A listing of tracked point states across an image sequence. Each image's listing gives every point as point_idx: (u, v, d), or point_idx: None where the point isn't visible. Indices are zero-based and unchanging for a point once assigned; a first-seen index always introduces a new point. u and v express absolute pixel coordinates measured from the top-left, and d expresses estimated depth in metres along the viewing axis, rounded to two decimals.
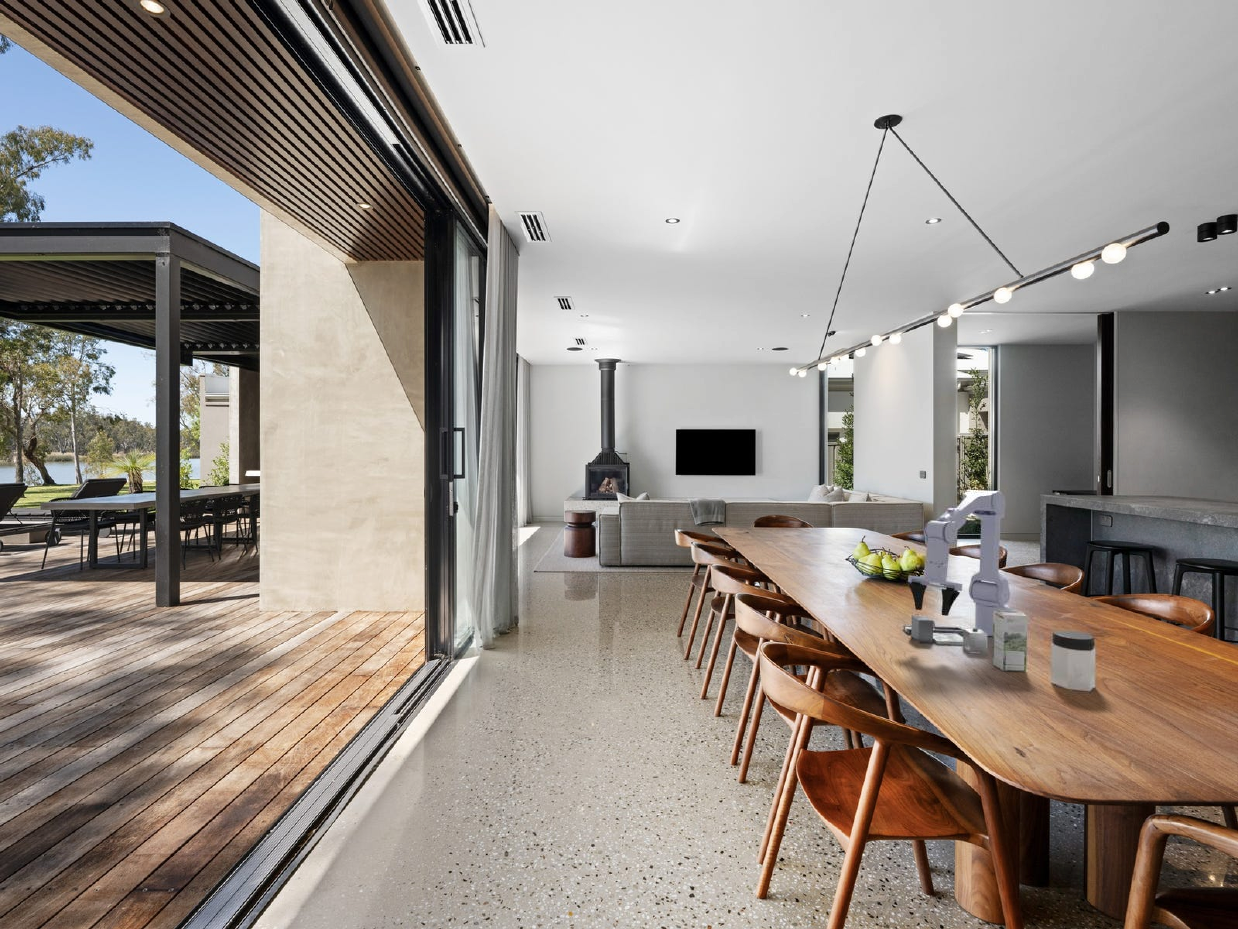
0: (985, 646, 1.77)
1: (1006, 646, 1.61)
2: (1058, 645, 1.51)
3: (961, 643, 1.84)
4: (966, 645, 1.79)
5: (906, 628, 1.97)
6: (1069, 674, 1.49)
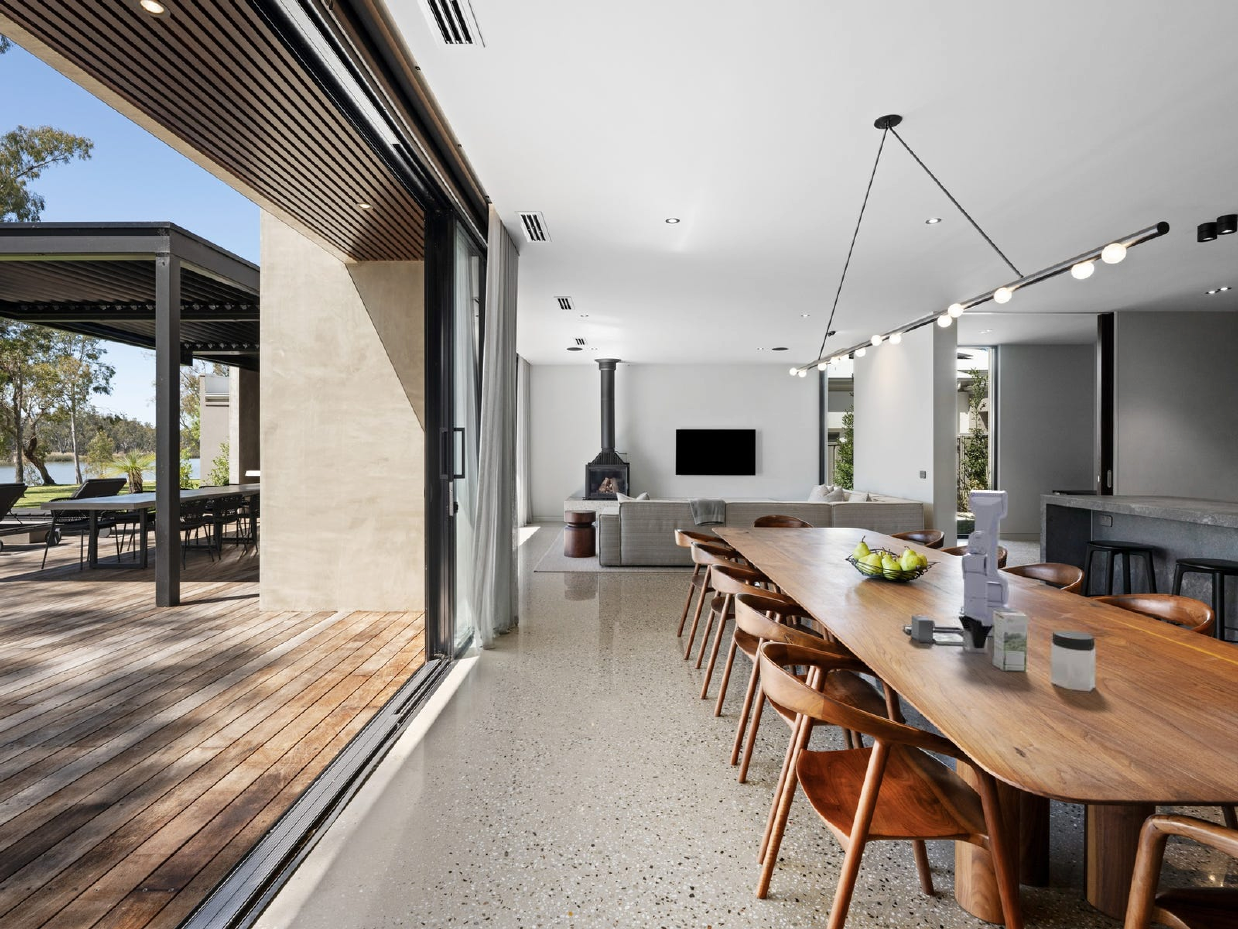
0: (985, 646, 1.77)
1: (1006, 646, 1.61)
2: (1058, 645, 1.51)
3: (961, 643, 1.84)
4: (966, 645, 1.79)
5: (906, 628, 1.97)
6: (1069, 674, 1.49)
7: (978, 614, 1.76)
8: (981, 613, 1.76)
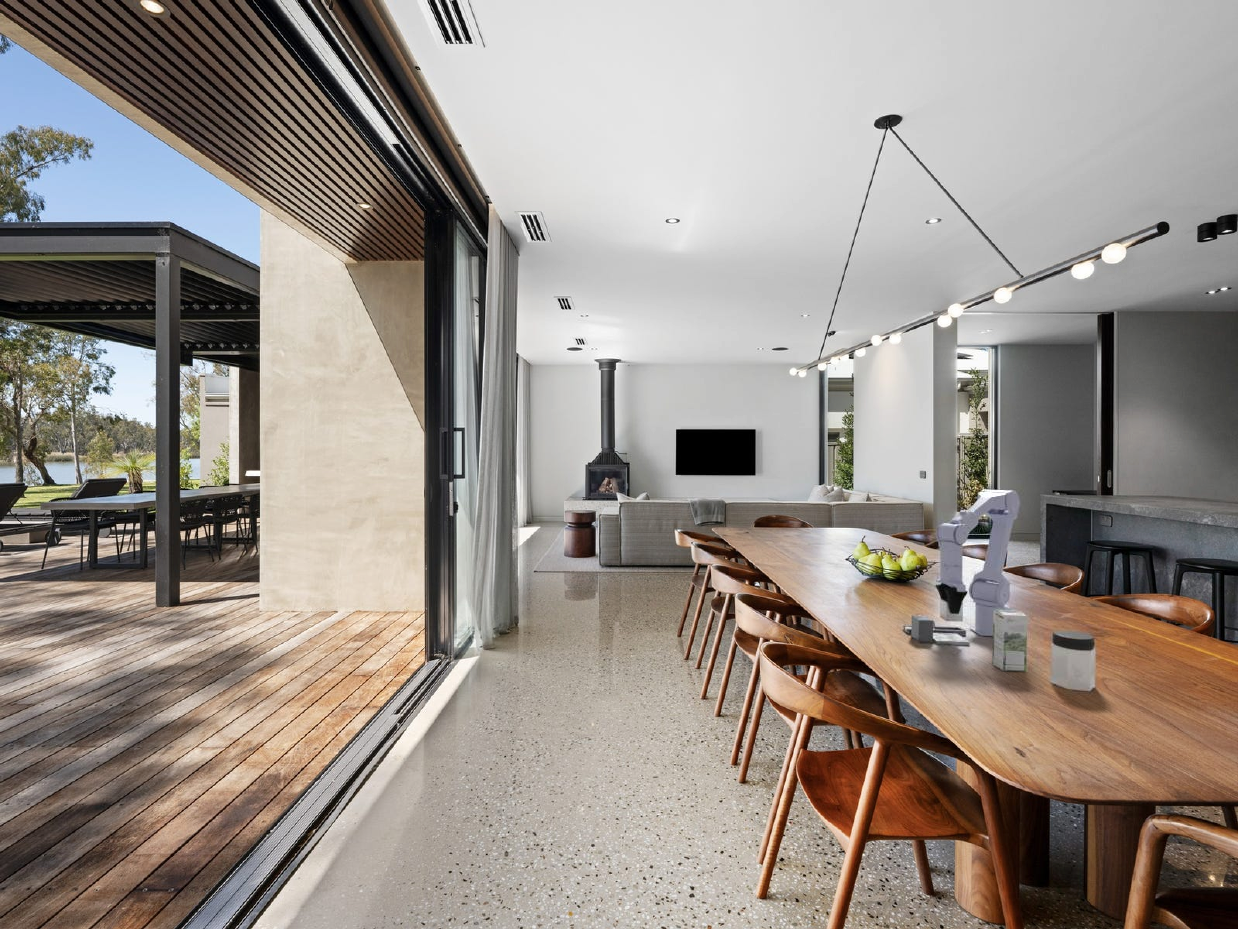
0: (961, 615, 1.85)
1: (1006, 646, 1.61)
2: (1058, 645, 1.51)
3: (961, 643, 1.84)
4: (943, 614, 1.87)
5: (906, 628, 1.97)
6: (1069, 674, 1.49)
7: (953, 581, 1.84)
8: (956, 580, 1.84)
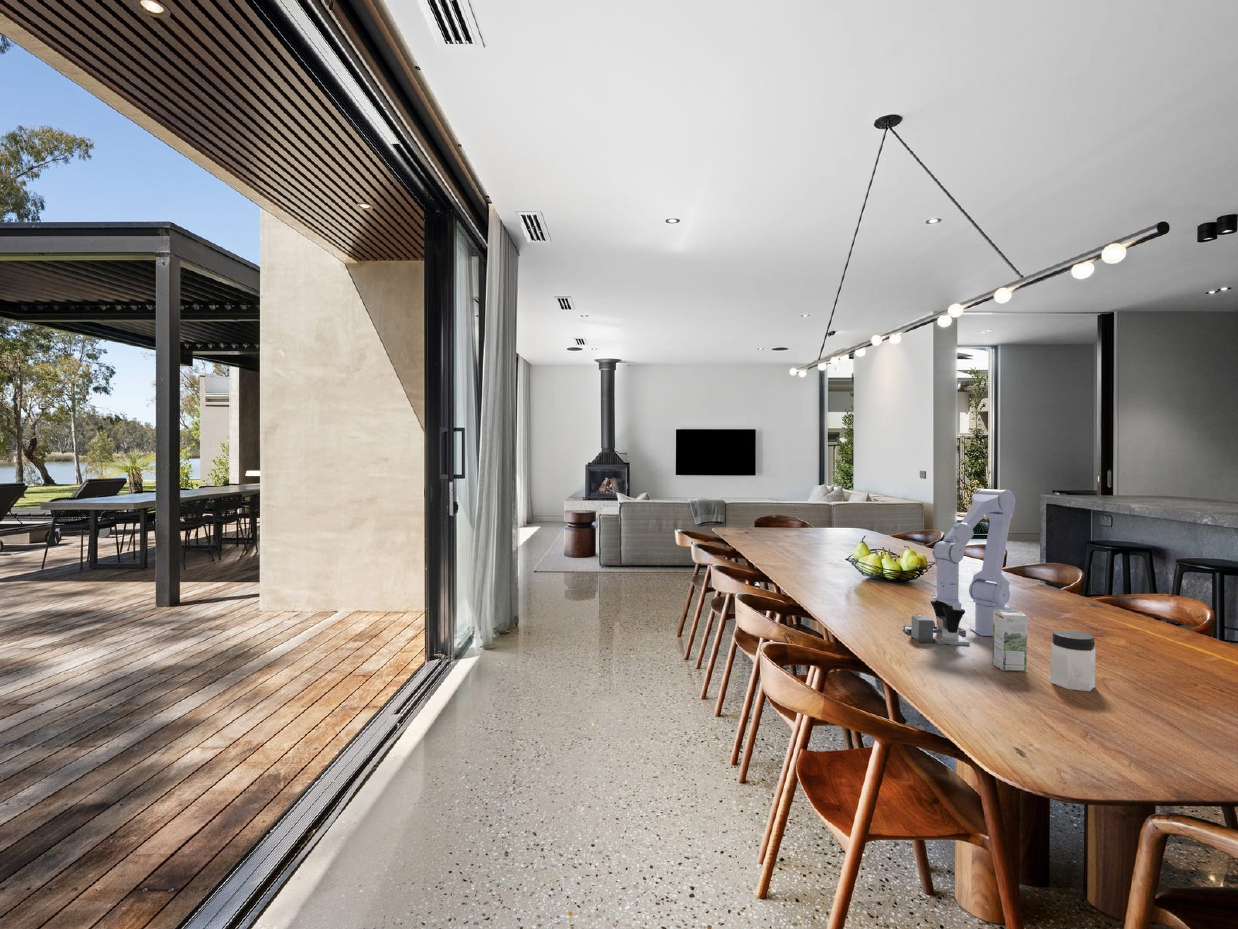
0: (957, 633, 1.86)
1: (1006, 646, 1.61)
2: (1058, 645, 1.51)
3: (961, 643, 1.84)
4: (939, 632, 1.89)
5: (906, 628, 1.97)
6: (1069, 674, 1.49)
7: (949, 599, 1.86)
8: (952, 598, 1.86)
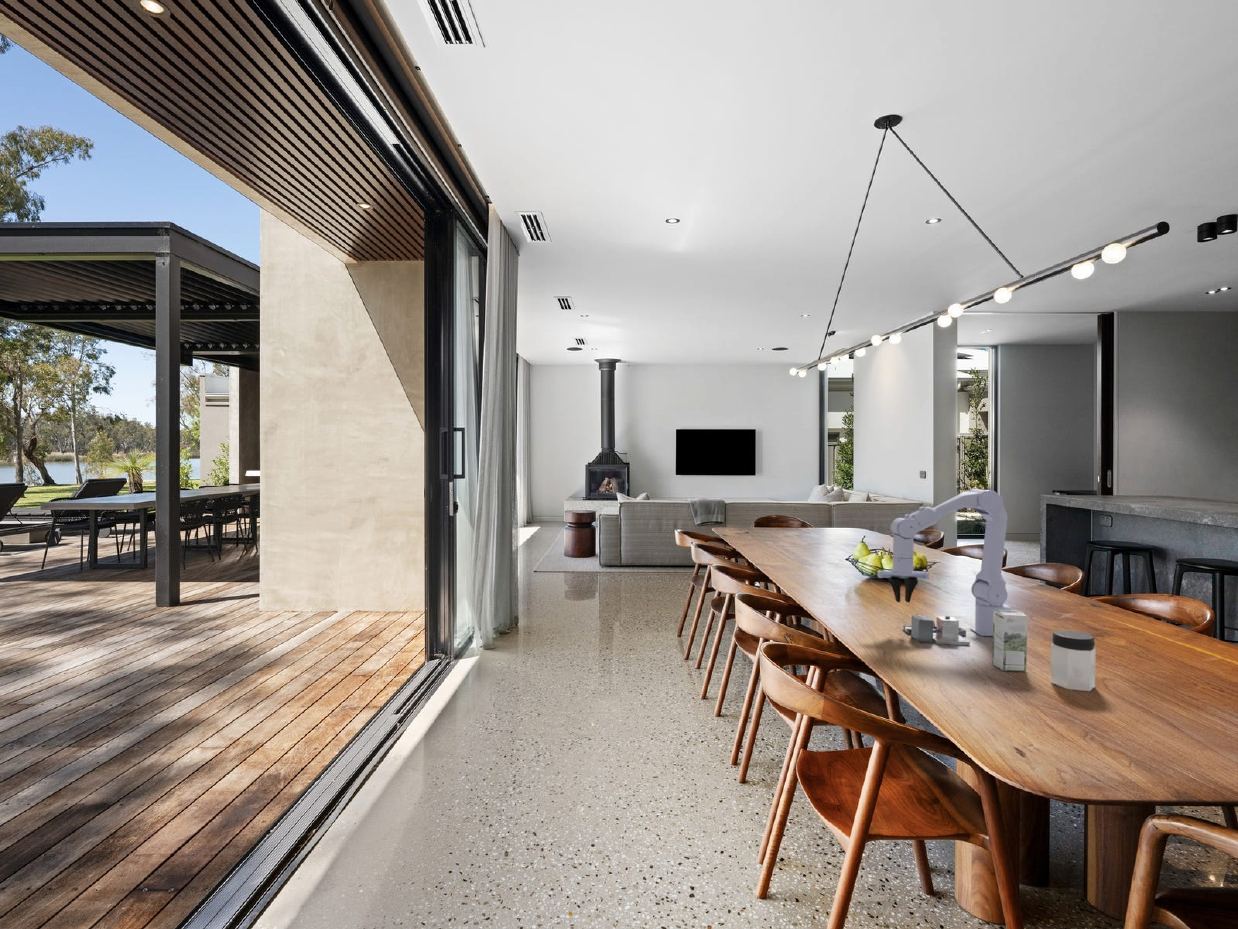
0: (957, 633, 1.86)
1: (1006, 646, 1.61)
2: (1058, 645, 1.51)
3: (961, 643, 1.84)
4: (939, 632, 1.89)
5: (906, 628, 1.97)
6: (1069, 674, 1.49)
7: (892, 570, 1.98)
8: (894, 570, 1.97)
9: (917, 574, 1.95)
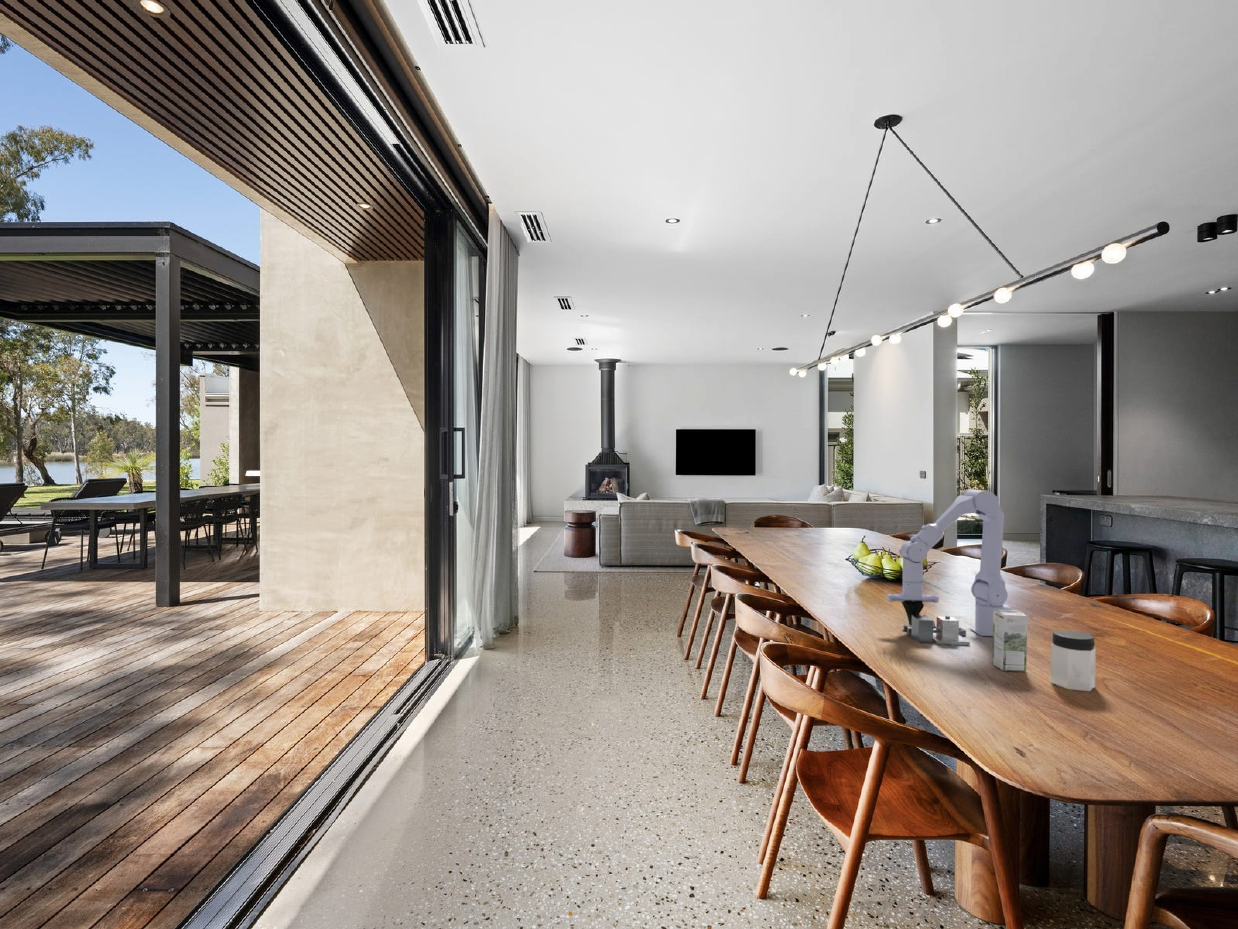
0: (957, 633, 1.86)
1: (1006, 646, 1.61)
2: (1058, 645, 1.51)
3: (961, 643, 1.84)
4: (939, 632, 1.89)
5: (908, 628, 1.97)
6: (1069, 674, 1.49)
7: (902, 594, 1.98)
8: (903, 594, 1.97)
9: (927, 598, 1.95)
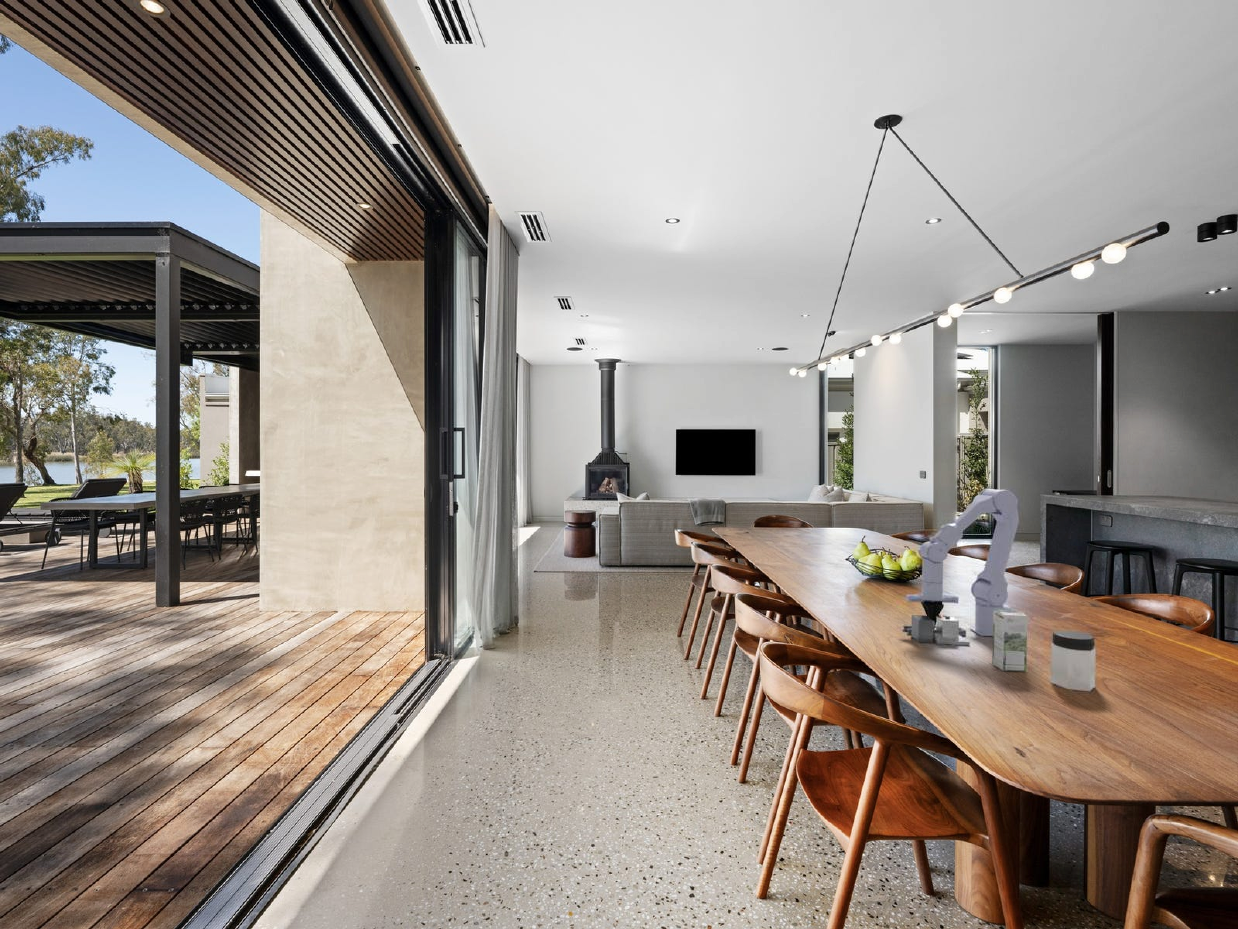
0: (957, 633, 1.86)
1: (1006, 646, 1.61)
2: (1058, 645, 1.51)
3: (961, 643, 1.84)
4: (939, 632, 1.89)
5: None
6: (1069, 674, 1.49)
7: (921, 594, 1.97)
8: (923, 594, 1.96)
9: (947, 598, 1.94)
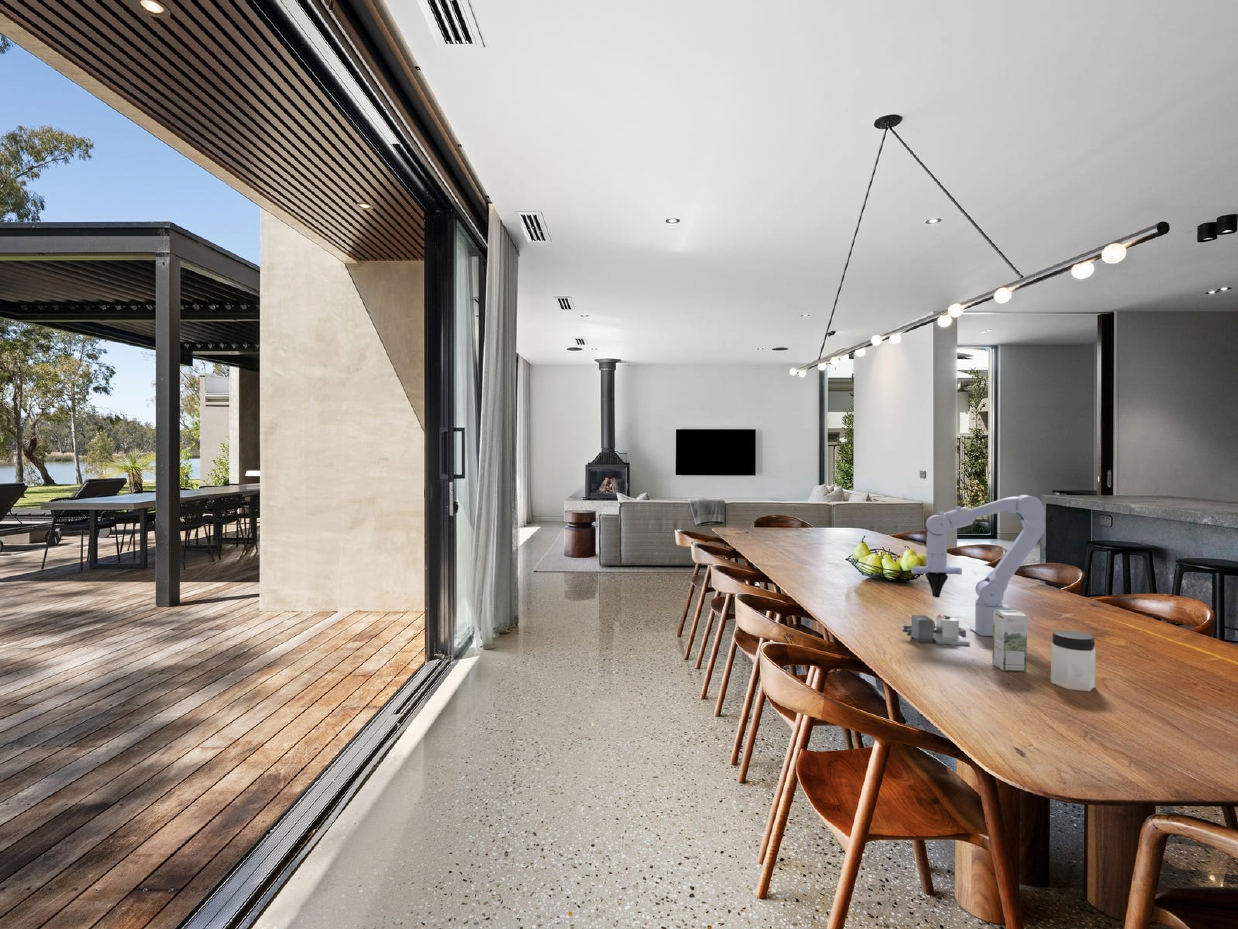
0: (957, 633, 1.86)
1: (1006, 646, 1.61)
2: (1058, 645, 1.51)
3: (961, 643, 1.84)
4: (939, 632, 1.89)
5: None
6: (1069, 674, 1.49)
7: (926, 566, 2.03)
8: (927, 566, 2.02)
9: (950, 570, 2.00)
